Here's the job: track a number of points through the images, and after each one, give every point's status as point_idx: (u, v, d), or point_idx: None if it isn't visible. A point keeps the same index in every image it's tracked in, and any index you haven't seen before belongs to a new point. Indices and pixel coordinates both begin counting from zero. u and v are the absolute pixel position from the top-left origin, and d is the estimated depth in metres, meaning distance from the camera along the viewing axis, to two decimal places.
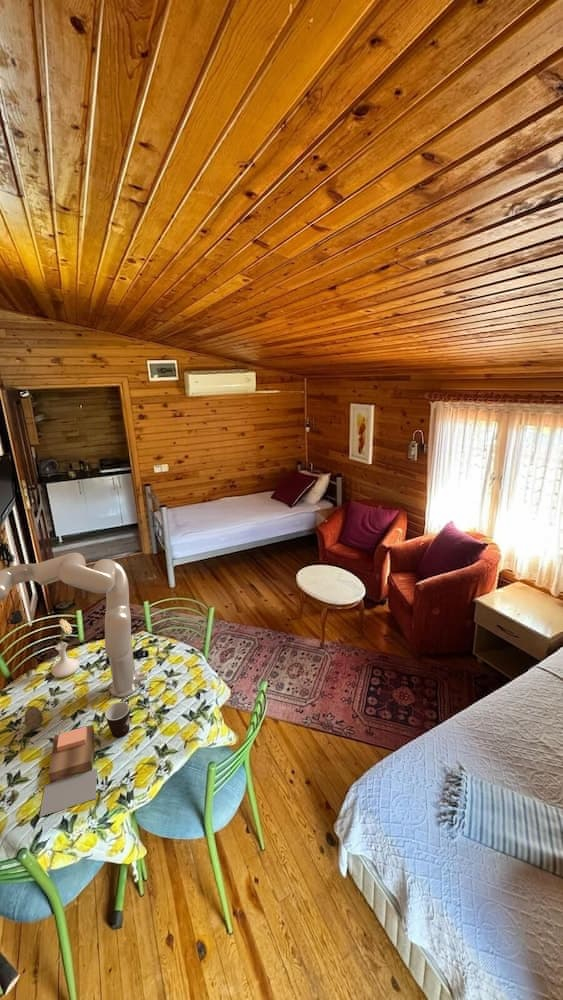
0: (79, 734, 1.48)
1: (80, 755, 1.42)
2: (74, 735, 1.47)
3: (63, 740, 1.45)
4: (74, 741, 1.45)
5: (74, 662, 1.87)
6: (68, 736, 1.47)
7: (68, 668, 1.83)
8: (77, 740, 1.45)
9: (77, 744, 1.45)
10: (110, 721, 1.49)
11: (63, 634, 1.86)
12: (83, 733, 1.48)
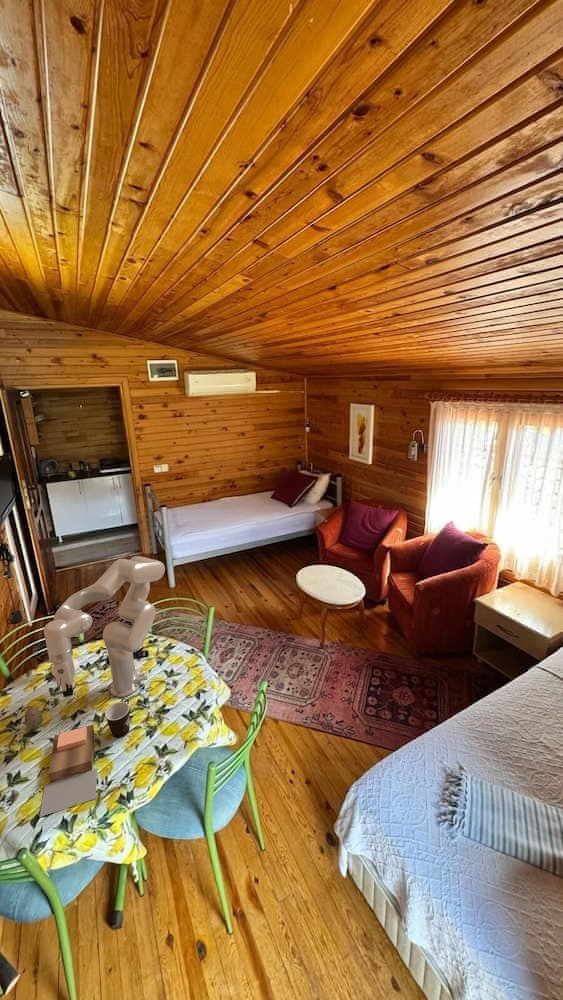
0: (79, 734, 1.48)
1: (80, 755, 1.42)
2: (74, 735, 1.47)
3: (63, 740, 1.45)
4: (74, 741, 1.45)
5: (74, 662, 1.87)
6: (68, 736, 1.47)
7: None
8: (77, 740, 1.45)
9: (77, 744, 1.45)
10: (110, 721, 1.49)
11: None
12: (83, 733, 1.48)
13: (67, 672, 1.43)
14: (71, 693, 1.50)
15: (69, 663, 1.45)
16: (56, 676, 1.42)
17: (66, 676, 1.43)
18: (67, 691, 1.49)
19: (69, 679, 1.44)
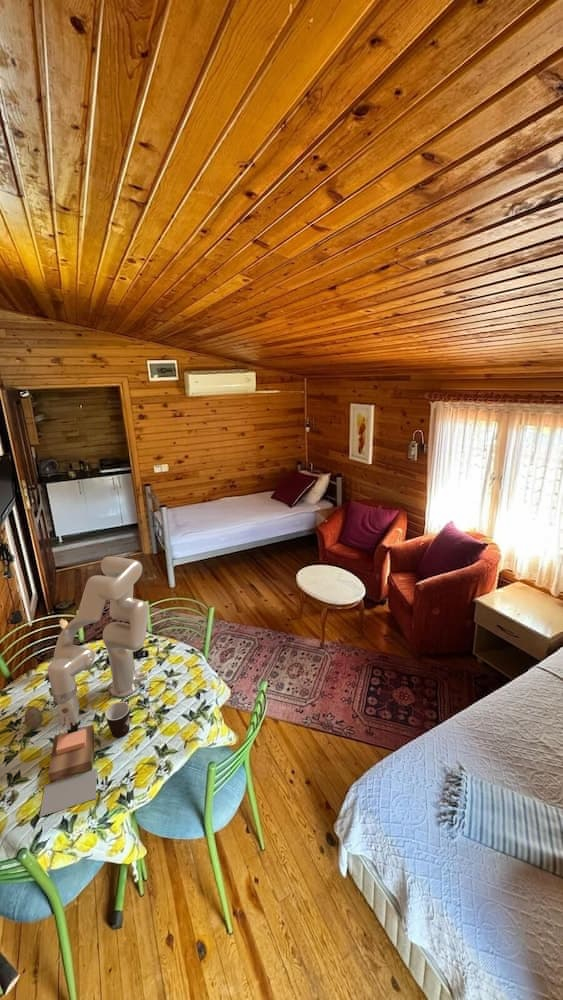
0: (78, 737, 1.46)
1: (80, 755, 1.42)
2: (73, 738, 1.46)
3: (62, 743, 1.44)
4: (73, 744, 1.44)
5: None
6: (67, 739, 1.46)
7: None
8: (77, 743, 1.44)
9: (76, 747, 1.44)
10: (110, 721, 1.49)
11: None
12: (82, 736, 1.47)
13: (71, 711, 1.42)
14: (76, 730, 1.49)
15: (73, 701, 1.44)
16: (60, 715, 1.41)
17: (70, 715, 1.42)
18: (72, 728, 1.48)
19: (73, 718, 1.43)
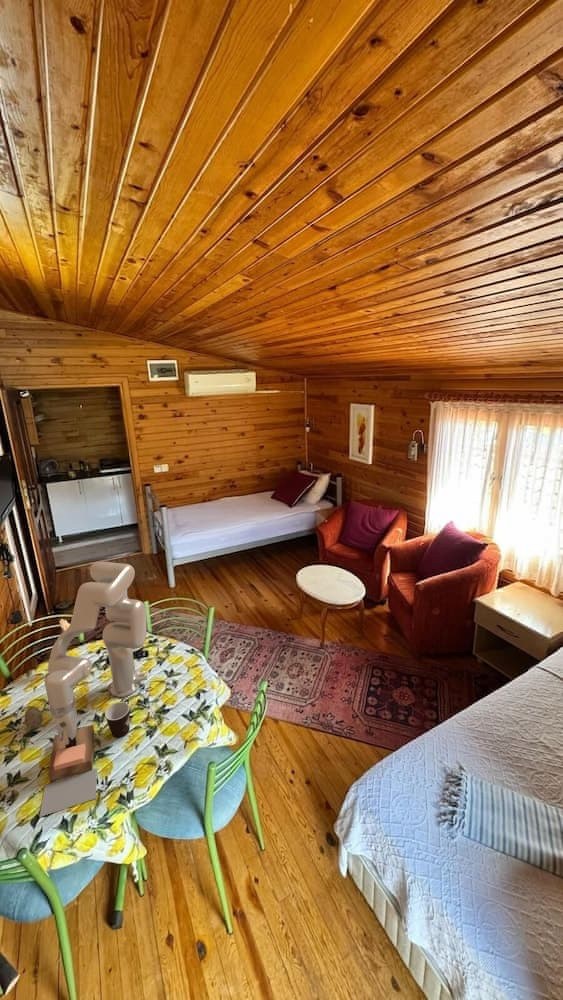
0: (77, 752, 1.41)
1: None
2: (72, 753, 1.40)
3: (60, 758, 1.38)
4: (71, 759, 1.38)
5: None
6: (66, 754, 1.40)
7: None
8: (75, 759, 1.38)
9: (75, 763, 1.38)
10: (110, 721, 1.49)
11: None
12: (81, 751, 1.41)
13: (69, 725, 1.37)
14: (74, 744, 1.44)
15: (72, 715, 1.38)
16: (58, 730, 1.36)
17: (68, 729, 1.37)
18: (70, 743, 1.42)
19: (72, 732, 1.38)
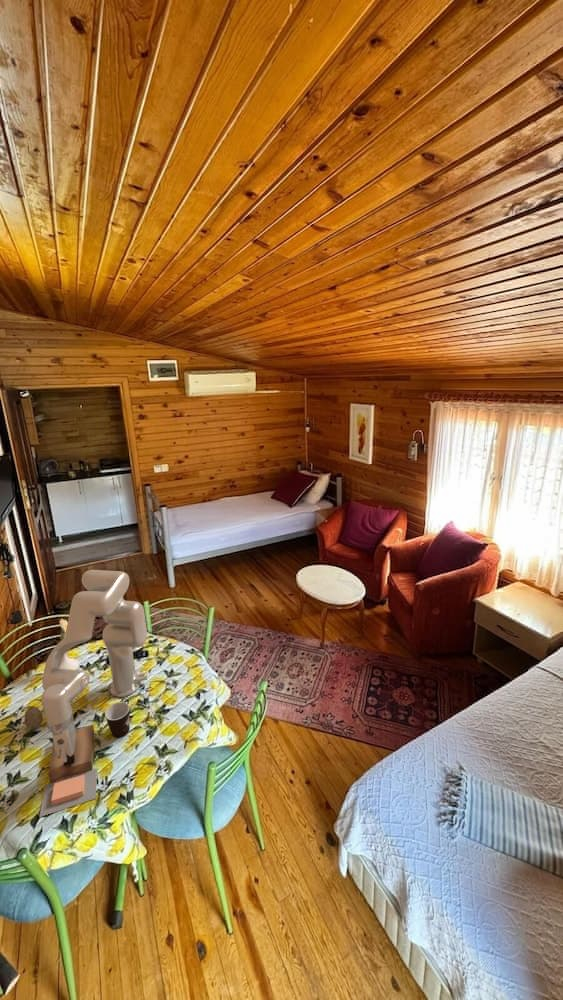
0: None
1: (80, 755, 1.42)
2: None
3: None
4: None
5: (74, 662, 1.87)
6: None
7: (68, 668, 1.83)
8: None
9: None
10: (110, 721, 1.49)
11: (63, 634, 1.86)
12: None
13: (67, 742, 1.31)
14: (72, 761, 1.38)
15: (70, 731, 1.32)
16: (55, 747, 1.30)
17: (66, 746, 1.31)
18: (68, 760, 1.36)
19: (70, 749, 1.31)
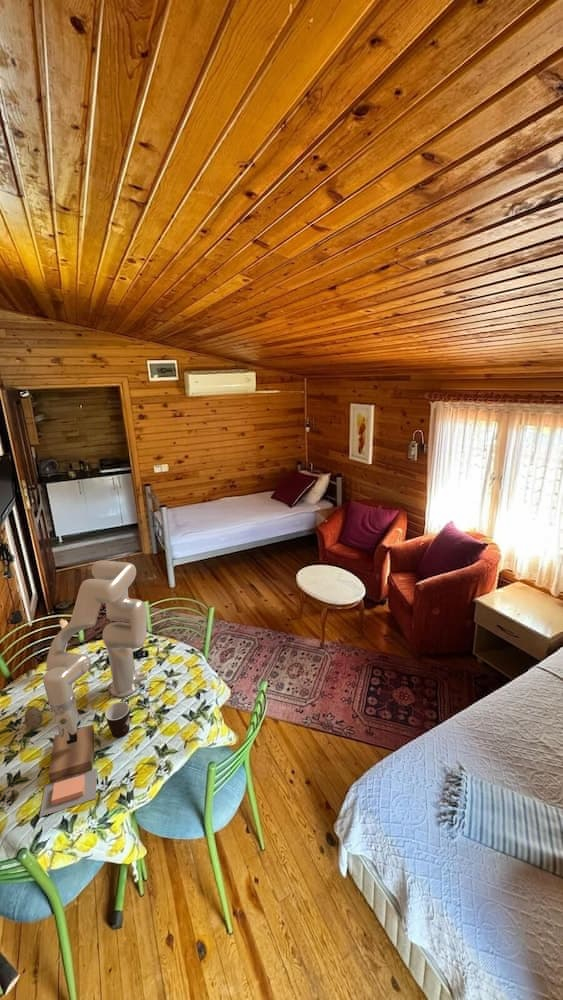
0: None
1: (80, 755, 1.42)
2: None
3: None
4: None
5: None
6: None
7: None
8: None
9: None
10: (110, 721, 1.49)
11: None
12: None
13: (70, 722, 1.36)
14: (75, 739, 1.44)
15: (71, 711, 1.37)
16: (58, 726, 1.35)
17: (69, 726, 1.36)
18: (71, 738, 1.42)
19: (72, 728, 1.37)
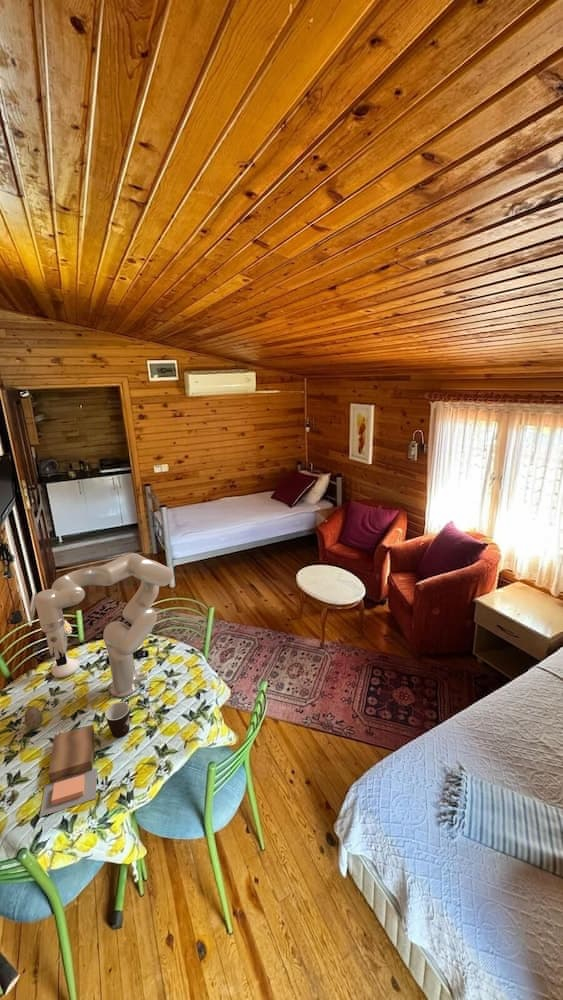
0: None
1: (80, 755, 1.42)
2: None
3: None
4: None
5: (74, 662, 1.87)
6: None
7: (68, 668, 1.83)
8: None
9: None
10: (110, 721, 1.49)
11: None
12: None
13: (60, 640, 1.45)
14: (65, 662, 1.53)
15: (61, 632, 1.47)
16: (49, 644, 1.44)
17: (59, 644, 1.45)
18: (60, 660, 1.51)
19: (62, 647, 1.46)
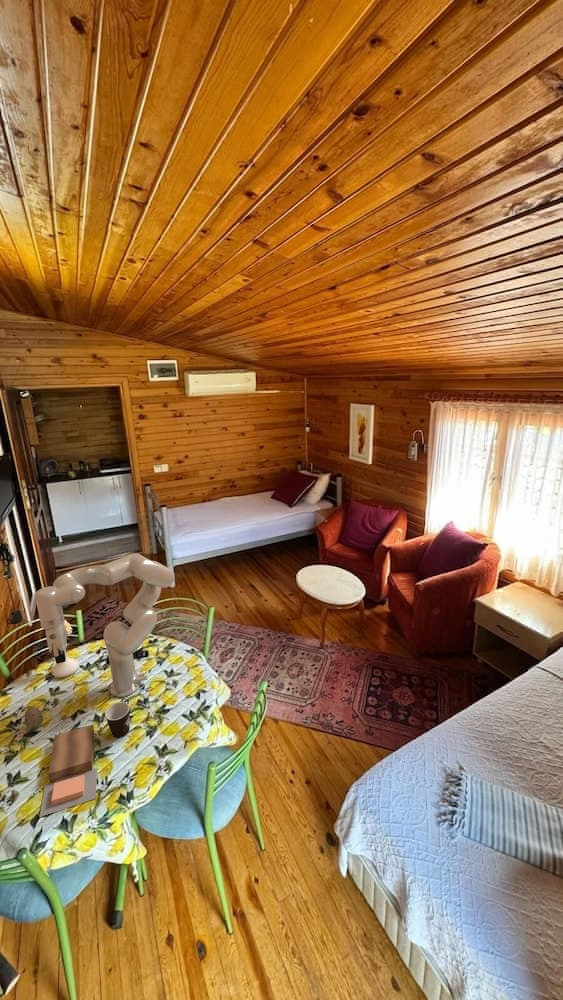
0: None
1: (80, 755, 1.42)
2: None
3: None
4: None
5: (74, 662, 1.87)
6: None
7: (68, 668, 1.83)
8: None
9: None
10: (110, 721, 1.49)
11: None
12: None
13: (59, 637, 1.46)
14: (63, 659, 1.53)
15: (61, 629, 1.48)
16: (48, 641, 1.45)
17: (58, 641, 1.46)
18: (59, 657, 1.52)
19: (61, 644, 1.47)
